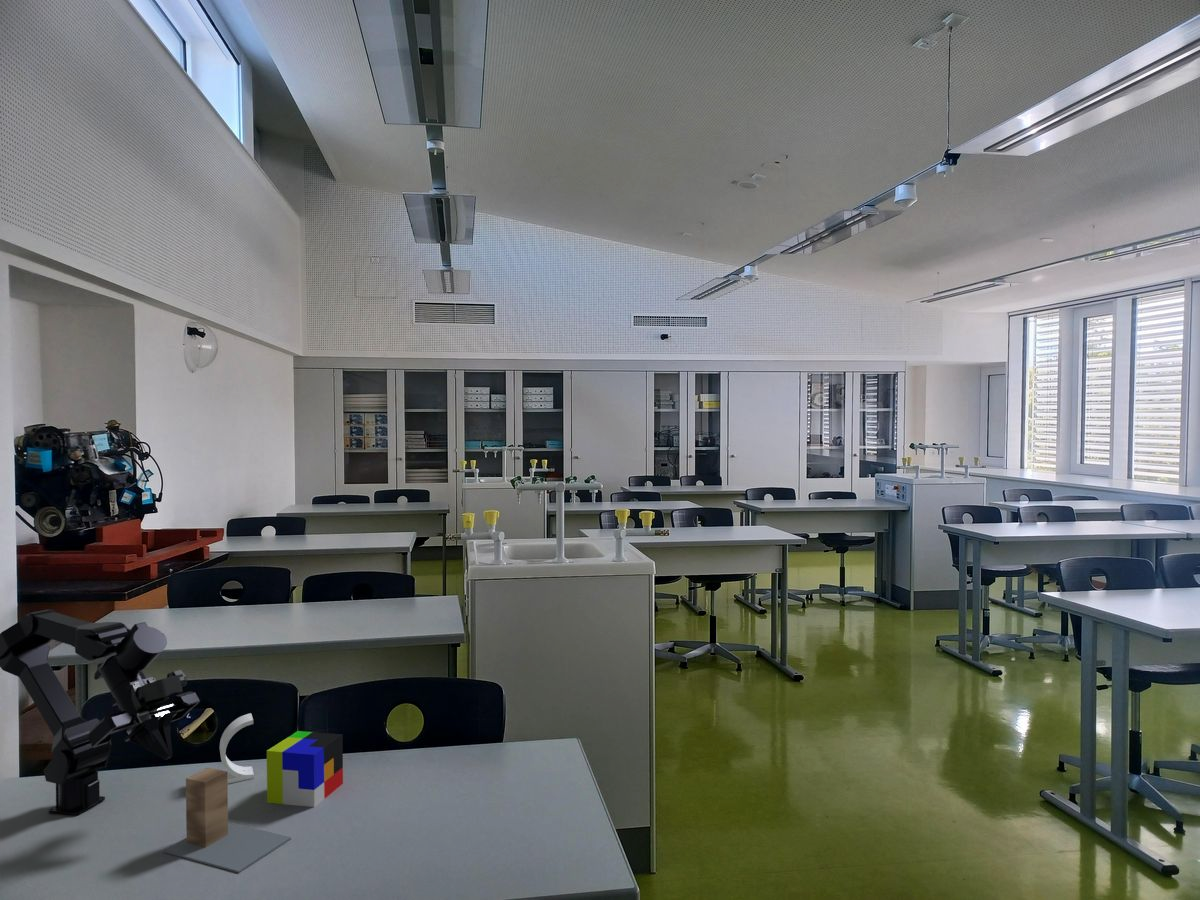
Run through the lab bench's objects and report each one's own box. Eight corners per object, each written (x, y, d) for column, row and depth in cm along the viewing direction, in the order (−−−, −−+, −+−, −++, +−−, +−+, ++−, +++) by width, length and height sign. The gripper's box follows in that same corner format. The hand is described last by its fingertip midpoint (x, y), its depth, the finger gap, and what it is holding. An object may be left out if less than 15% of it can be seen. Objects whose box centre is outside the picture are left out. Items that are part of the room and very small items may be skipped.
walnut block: (186, 842, 127) (185, 778, 127) (209, 829, 132) (208, 767, 132) (205, 847, 126) (205, 782, 126) (228, 834, 130) (227, 771, 130)
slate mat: (163, 852, 125) (163, 850, 125) (218, 821, 135) (218, 819, 135) (239, 872, 119) (238, 871, 119) (291, 838, 129) (291, 837, 129)
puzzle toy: (314, 807, 140) (313, 754, 140) (267, 802, 142) (266, 750, 142) (343, 783, 150) (342, 734, 150) (298, 779, 152) (297, 731, 152)
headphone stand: (253, 778, 153) (253, 720, 153) (221, 785, 150) (220, 725, 150) (251, 770, 157) (251, 713, 157) (219, 776, 154) (219, 718, 154)
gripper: (110, 668, 125) (153, 747, 122) (198, 648, 143) (238, 717, 140) (68, 707, 127) (110, 786, 124) (161, 683, 145) (199, 751, 141)
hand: (168, 757), depth 132 cm, fingers closed
